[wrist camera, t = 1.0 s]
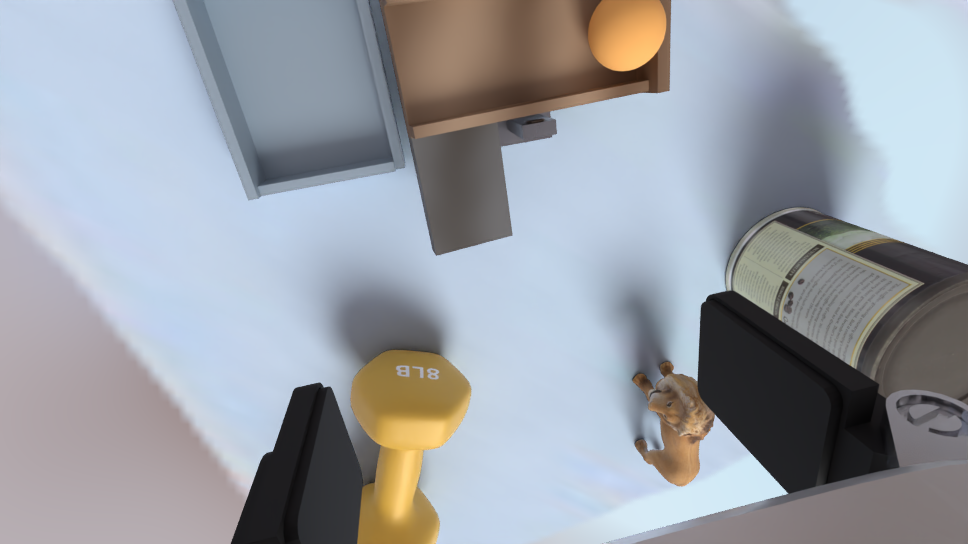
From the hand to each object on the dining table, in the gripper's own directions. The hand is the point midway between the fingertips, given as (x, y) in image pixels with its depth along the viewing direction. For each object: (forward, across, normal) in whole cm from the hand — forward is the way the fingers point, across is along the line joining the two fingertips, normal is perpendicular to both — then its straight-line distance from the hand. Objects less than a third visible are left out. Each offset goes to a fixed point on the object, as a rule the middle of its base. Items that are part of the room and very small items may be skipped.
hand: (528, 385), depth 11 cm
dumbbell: (+24, +8, +21) cm, 33 cm away
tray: (+24, +7, -8) cm, 26 cm away
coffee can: (+24, -27, +12) cm, 38 cm away
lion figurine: (+24, -15, +24) cm, 37 cm away
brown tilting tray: (+21, -5, -4) cm, 22 cm away
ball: (+17, -11, -8) cm, 22 cm away
